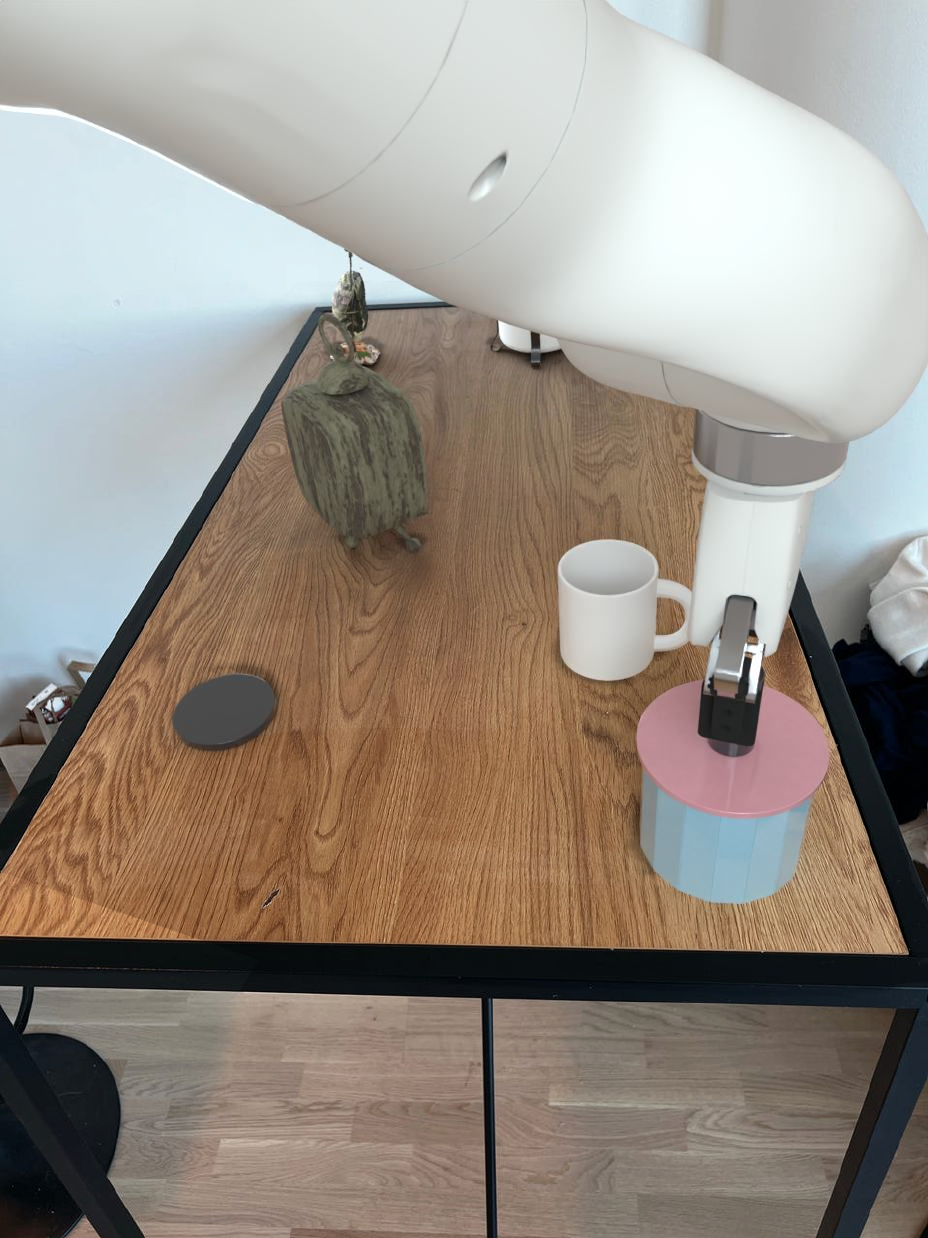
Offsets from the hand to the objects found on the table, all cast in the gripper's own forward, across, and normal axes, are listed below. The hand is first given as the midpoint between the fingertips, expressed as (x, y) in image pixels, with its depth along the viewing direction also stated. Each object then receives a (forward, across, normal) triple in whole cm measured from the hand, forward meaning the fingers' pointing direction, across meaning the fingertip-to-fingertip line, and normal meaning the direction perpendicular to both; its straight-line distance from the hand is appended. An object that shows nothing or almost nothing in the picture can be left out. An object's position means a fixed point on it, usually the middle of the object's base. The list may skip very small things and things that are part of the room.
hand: (739, 683), depth 58 cm
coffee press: (+17, -84, -42) cm, 95 cm away
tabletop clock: (+16, -30, -43) cm, 55 cm away
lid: (+5, 0, 0) cm, 5 cm away
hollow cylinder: (+16, 0, 0) cm, 16 cm away
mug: (+16, -18, -11) cm, 26 cm away
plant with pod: (+16, -76, -68) cm, 103 cm away
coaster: (+16, -1, -43) cm, 46 cm away
